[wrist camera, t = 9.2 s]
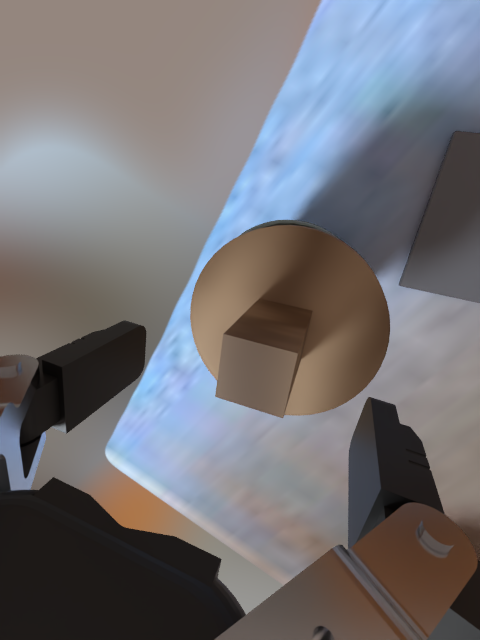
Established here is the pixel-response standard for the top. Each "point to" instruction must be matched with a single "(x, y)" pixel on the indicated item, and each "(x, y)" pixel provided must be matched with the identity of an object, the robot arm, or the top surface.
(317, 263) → the lid
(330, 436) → the top surface
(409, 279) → the mat
